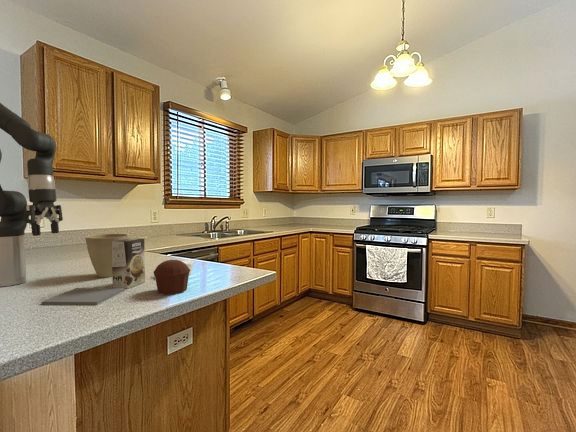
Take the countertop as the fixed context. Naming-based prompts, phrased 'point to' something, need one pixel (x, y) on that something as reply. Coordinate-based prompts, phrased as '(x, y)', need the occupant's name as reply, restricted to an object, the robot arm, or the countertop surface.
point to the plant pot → (102, 252)
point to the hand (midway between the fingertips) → (46, 234)
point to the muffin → (171, 277)
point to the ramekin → (188, 264)
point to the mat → (83, 296)
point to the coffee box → (128, 263)
